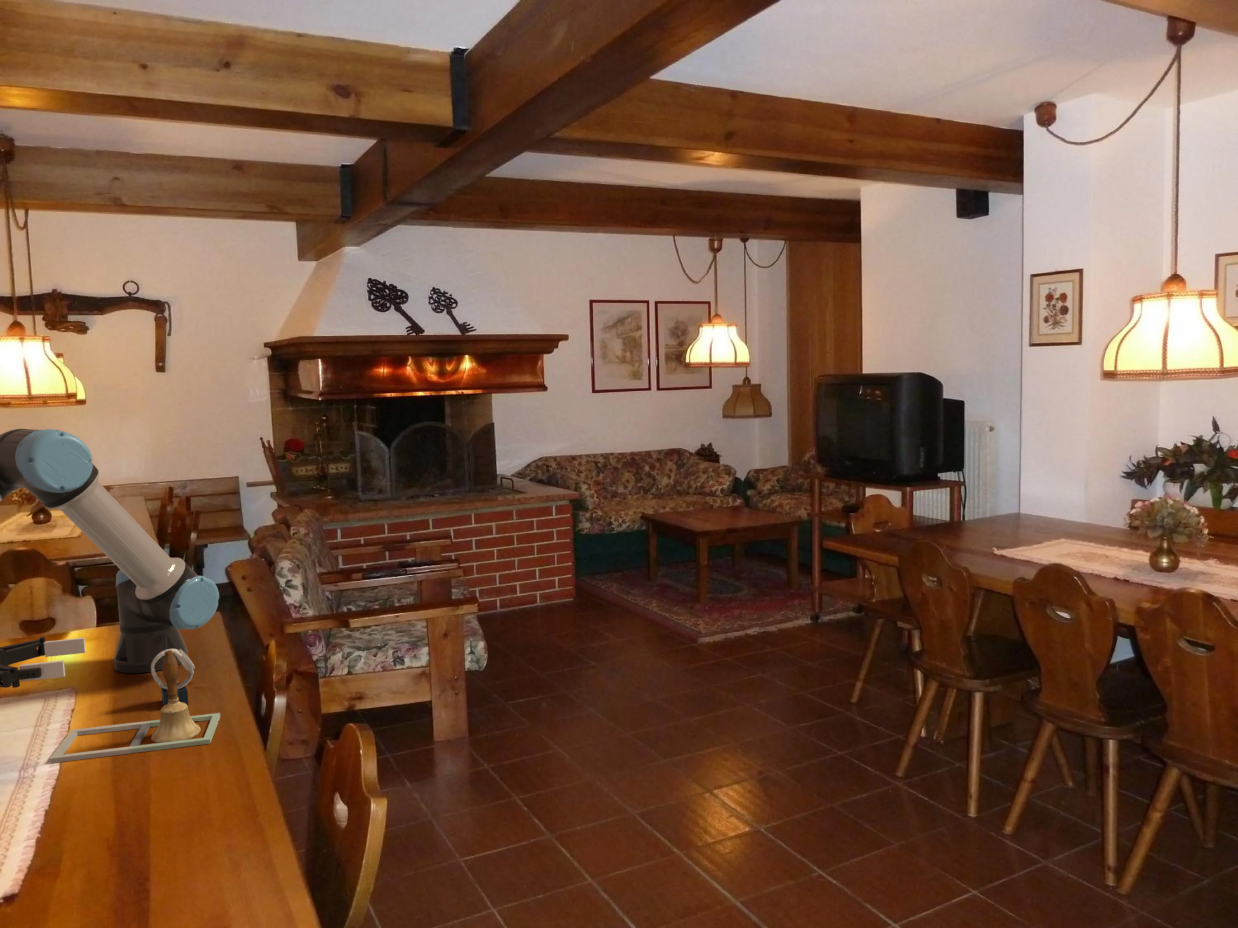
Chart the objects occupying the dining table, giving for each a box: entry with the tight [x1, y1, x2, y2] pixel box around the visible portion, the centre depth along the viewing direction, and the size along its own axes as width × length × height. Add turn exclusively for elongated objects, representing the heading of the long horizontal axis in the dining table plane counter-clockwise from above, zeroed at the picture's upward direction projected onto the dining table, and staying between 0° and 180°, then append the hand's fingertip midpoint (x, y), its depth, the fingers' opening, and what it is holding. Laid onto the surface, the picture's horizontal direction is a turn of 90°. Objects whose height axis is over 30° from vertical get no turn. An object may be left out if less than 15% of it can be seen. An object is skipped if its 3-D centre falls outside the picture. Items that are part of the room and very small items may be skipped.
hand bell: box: [150, 650, 202, 743], centre depth 171 cm, size 8×8×16 cm
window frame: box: [49, 712, 221, 763], centre depth 170 cm, size 13×26×1 cm, turn 106°
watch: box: [150, 649, 196, 707], centre depth 188 cm, size 6×8×11 cm
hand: (75, 656), depth 167 cm, fingers open, 13 cm apart
